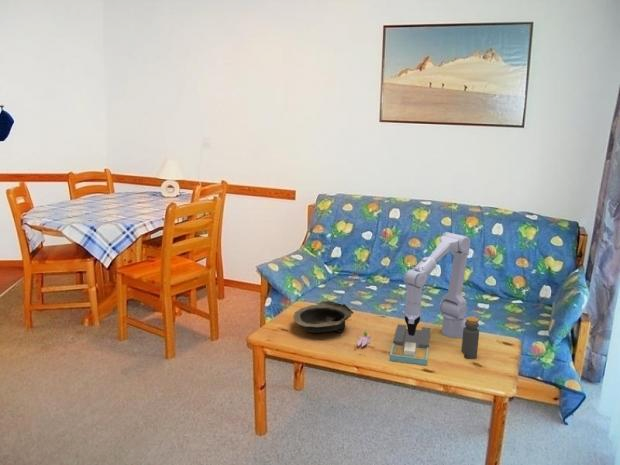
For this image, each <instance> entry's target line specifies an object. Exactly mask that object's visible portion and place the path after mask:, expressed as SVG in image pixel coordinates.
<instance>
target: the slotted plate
mask: <svg viewBox="0 0 620 465" xmlns="http://www.w3.org/2000/svg"><path fill="white" fill-rule="evenodd" d="M431 329H432V328H431V327H424V326H422V327H421V329H416V331H415V335H414V336H411V335H409V334H408V328H407V324H399V323H398V324H397V327H396V331H395V333H394V338H393V343H395V345H394V346H401V347H405V342H411V343H416V349H423V350H424V349H426V350H427V347H428V348H429V349H430V339H431V332H432V330H431ZM393 343H392V344H393Z"/></svg>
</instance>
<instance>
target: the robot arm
mask: <svg viewBox="0 0 620 465" xmlns="http://www.w3.org/2000/svg"><path fill="white" fill-rule="evenodd" d="M471 242H472V240H470V238H469V237H468V235H461V234H458V233H452V232H449V231H446V232H444V233H443V235H442V236H440V239H439V243H438V244H437V246H436V247H435V249H434V250H433V251H432V252H431V254H430V255H429V256H424V257H423V258H422V259H421V260H420V261H419V262H418V263H417V264H416V266H415V267H414V268H412V269H409V270H407V271H406V272H405V274H404V277H403V282H404V284H405V289H406V294H405V310H404V309H403V310H401V314H403V315H405V316H404V322H405V323H406V324H405V325H407V326H406V329H408V334H409V335H411V336H414V335H415V331H416V330H417V327H418V325H419V323H420V321H421V316H422V298H423V296H422V295H423V287H424V286H425V285H426V282H427V280H428V277H429V276H430V275H431V273H432V272H433V271H434V270H435V269H436V268H437V263H438V262H439V261H440V260H441V259H442V258H444V257H445V256H446V254H448V253H449V252H450V253H451V254H452V255H453V258H452V264H451V269H450V270H451V272H450V277H449V285H448V291H447V293H446V294H444V295H442V298H441V301H440V303H439V306H438V307H439V311H440V313H441V316H442V326H441V334H442V336H445V337H448V338H456V339H457V338H459V339H462V338H463V329H464V328H465V327H466V326H465V322H466V317H465V316H466V314H467V311H468V309H467V299H465V298H464V297H463V295H462V292H463V285H464V280H465V274H466V267H467V260H468V256H469V253H470V248H471Z"/></svg>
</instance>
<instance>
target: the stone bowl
mask: <svg viewBox="0 0 620 465" xmlns="http://www.w3.org/2000/svg"><path fill="white" fill-rule="evenodd" d="M353 314H354V311H353V310H352V309H351V308H349V306H347V305H346V304H345V303H343V304H342V303H338V302H334V301H329V300H327V301H325V300H322V301H320V302H318V303H317V304H311V305H308V306H304V307H302V308H299V309H298V310H296V311H294V313H293V317H292V318H293V321H294V322H295V323H297V324H298V325H300V326H302V327H303V329H304V331H305V332H306V333H314V334H315V333H326V332H327V333H328V332H333V331H337V332H339V333H341V332H344V331H345V329H346V321H347V320H348V319H349V318H351V317H352V315H353Z"/></svg>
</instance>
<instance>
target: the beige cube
mask: <svg viewBox="0 0 620 465" xmlns="http://www.w3.org/2000/svg"><path fill="white" fill-rule="evenodd" d="M416 349H417V348H416V347H409V346H404V348H403V356H408V357H416V351H415V350H416Z"/></svg>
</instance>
